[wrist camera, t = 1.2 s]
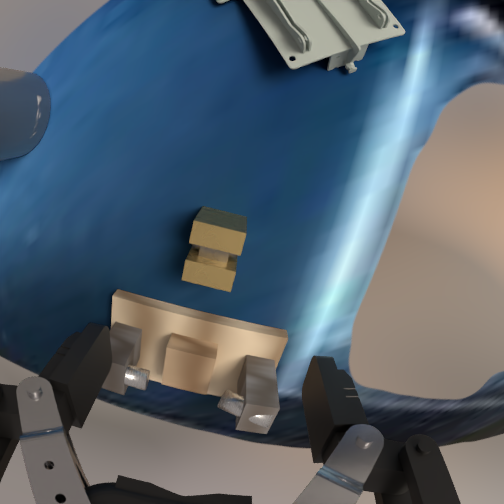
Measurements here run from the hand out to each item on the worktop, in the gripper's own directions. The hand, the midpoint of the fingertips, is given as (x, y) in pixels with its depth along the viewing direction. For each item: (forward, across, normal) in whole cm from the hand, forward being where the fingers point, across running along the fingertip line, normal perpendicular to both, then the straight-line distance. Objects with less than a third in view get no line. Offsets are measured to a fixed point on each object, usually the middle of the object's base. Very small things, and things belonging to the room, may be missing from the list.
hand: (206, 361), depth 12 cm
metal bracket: (+19, -4, -22) cm, 29 cm away
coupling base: (+18, +2, +14) cm, 23 cm away
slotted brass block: (+18, +1, +1) cm, 18 cm away
